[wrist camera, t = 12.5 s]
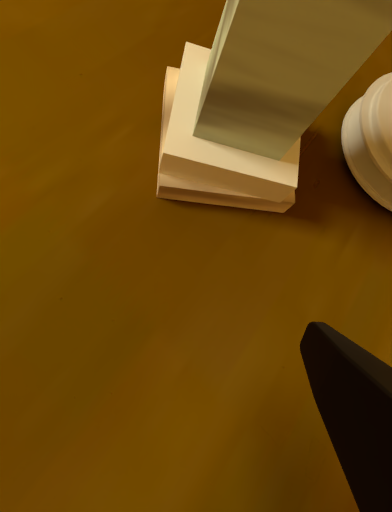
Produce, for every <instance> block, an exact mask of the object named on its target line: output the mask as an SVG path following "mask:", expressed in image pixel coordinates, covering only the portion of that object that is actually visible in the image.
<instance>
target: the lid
mask: <svg viewBox="0 0 392 512" xmlns="http://www.w3.org/2000/svg"><path fill="white" fill-rule="evenodd" d="M341 140H342V148H343V152H344V156H345V159H346V161H347V164H348V166H349V168H350V170H351V172H352V174H353V176H354V177H355V179H356V180H357V182H358V183H359V184H360V186H361V187H362V188H363V189H364V190H365V192H366V193H367V194H368V195H370V196H371V197H372V198H373V199H374V200H375V201H376V202H378V203H379V204H380V205H382V206H383V207H385V208H386V209H388V210H390V211H392V73H389V74H386V75H384V76H382V77H380V78H379V79H377V80H376V81H375V82H374V83H373V84H372V85H371V86H370V87H369V88H368V90H367V91H366V93H365V94H364V96H362V97H361V98H359V99H358V100H357V101H356V102H355V103H354V104H353V105H352V106H351V107H350V108H349V110H348V112H347V113H346V115H345V118H344V120H343V125H342V133H341Z"/></svg>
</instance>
